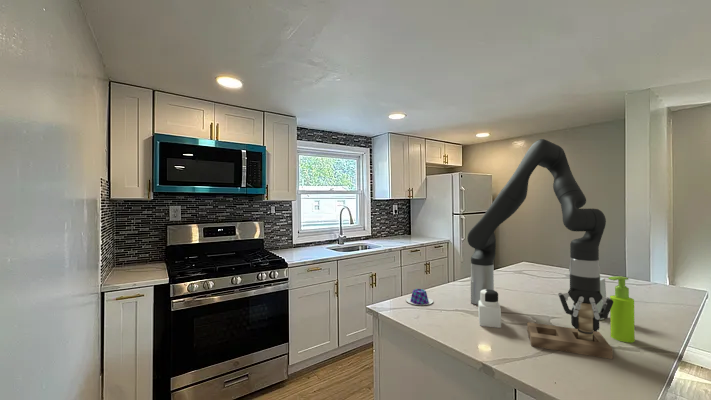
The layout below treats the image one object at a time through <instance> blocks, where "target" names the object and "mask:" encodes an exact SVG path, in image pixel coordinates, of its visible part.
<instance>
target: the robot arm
mask: <svg viewBox="0 0 711 400" xmlns="http://www.w3.org/2000/svg"><path fill="white" fill-rule="evenodd" d="M538 166H539V167H542V168H543V169H544V168H545V169H546V170H548V171H549V173H550V174H551V175H552V177H553V184H552V185H553V186H552V187H553V192H554V195H555V196H556V198H557V200H558V202H559V204H560V208H561V214H562V222H563V226H564V227H565V228H566V229H567V230H569V231H571V232H584V235H583V236H582V237H580V238H575V239H572V240H571V241H570V245H569V246H570V247H569V249H570V251H569V253H570V257H569V258H570V259H569V269H568V271H569V290H567V292H564V293H562V292H559V293H558V298H559V301H560V303H561V305H562V308H563V310H564V312H565V313H566V315H570V320H571V322H570V324H571V326H572V328H575V329H578V317H577V315H578V312H579V310H580V308H581V303H587V304H592V310H593V313H594V317H593V331H596V332H598V331H599V330H600V319H601V318H605V319H607V318H608V317H609V315H610V310H611V307H612V305H613V300H611V299H610V297H607V296H606V297H603V296H602V295H601V293H600V278H601V267H600V261H599V259H600V258H599V257H600V256H599V254H600V253H599V252H600V249H599V247H600V245H601V240H602V237H603V234H604V231H605V229H606V226H607V225H606V223H607V219H606V216H605V214H604V212H603V211H602V210H600V209H598V208H582V207H584V206H585V205H586V203H587V197H586V196H585V194H584V192H583V191H582V189H581V187H580V186H579V184H578V181H576V178H575V177H574V175H573V173H572V170H571V167H570V164H569V162H568V158H567V155H566V152H565V150H564V148H562V146H560V145H558V144H556V143H555V142H551V141H550V140H547V139H544V138H541V139H538V140H536V141H534V142H533V143H532V145H531V146H530V147H529V148H528V150H527V151H526V152H525V155H524V156H523V157H522V159H521V161H520V162H519V164H518V165H517V168H516V169H515V171H514V172H513V174H512V175H511V177H510V178H509V179H508V181H507V183H506V184H505V185H504V187H502V189H501V190H500V192H499V193H498V195H497V196H496V197H495V198H494V200H493V202H492V203H491V204H490V206H489V207H488V208H487V210H486V211H485V213H484V215H483V216H482V217H481V218H480V219H479V220H478V222H477V223H476V224H475V225H474V226H473V227H472V228H471V229H470V230H469V232H468V234H467V243H468V245H469V246H470V247H471V248H472V249H474V251H473V254H472V255H471V257H470V303H471V304H473V305H477V306H478V301H479V300H480V291H481V290H484V289H490V290H494V291H495V289H494V287H495V286H494V285H495V283H494V281H495V280H494V279H495V278H494V275H495V274H494V272H495V271H494V268H495V267H494V264H495V263H494V261H495V258H496V245H497V243H496V240H497V239H496V234H495V231H496V229H497V228H499V226H501V224H503V223H504V222H506V221H507V220H508V219H509V218H510V217H511V216H512V215H514V214H515V213H516V212H517V210H519V209H520V207H521V205H522V204H523V203H524V202H525V200H526V198H527V196H528V191H529V190H528V188H529V181H530V177H531V175H532V174H533V172H534V171H535V169H536V168H537V167H538ZM569 298H571V300H572V301H573V302H572V307H571V309H570V307H569V305H568V302H567V301H568V300H569ZM601 300H602V303H603V306H602V309H601V311H600V313H598V309H597V307H596V305H597V304H598V303H599V302H600V301H601ZM579 303H580V304H579Z"/></svg>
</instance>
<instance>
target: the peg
mask: <svg viewBox="0 0 711 400" xmlns="http://www.w3.org/2000/svg"><path fill="white" fill-rule="evenodd" d="M579 304H580V303H579ZM577 317H578V339H580V340H587V341H593V317H594V313H593V310H592V304H587V303H581V308H580V310H579V312H578V315H577Z"/></svg>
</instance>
